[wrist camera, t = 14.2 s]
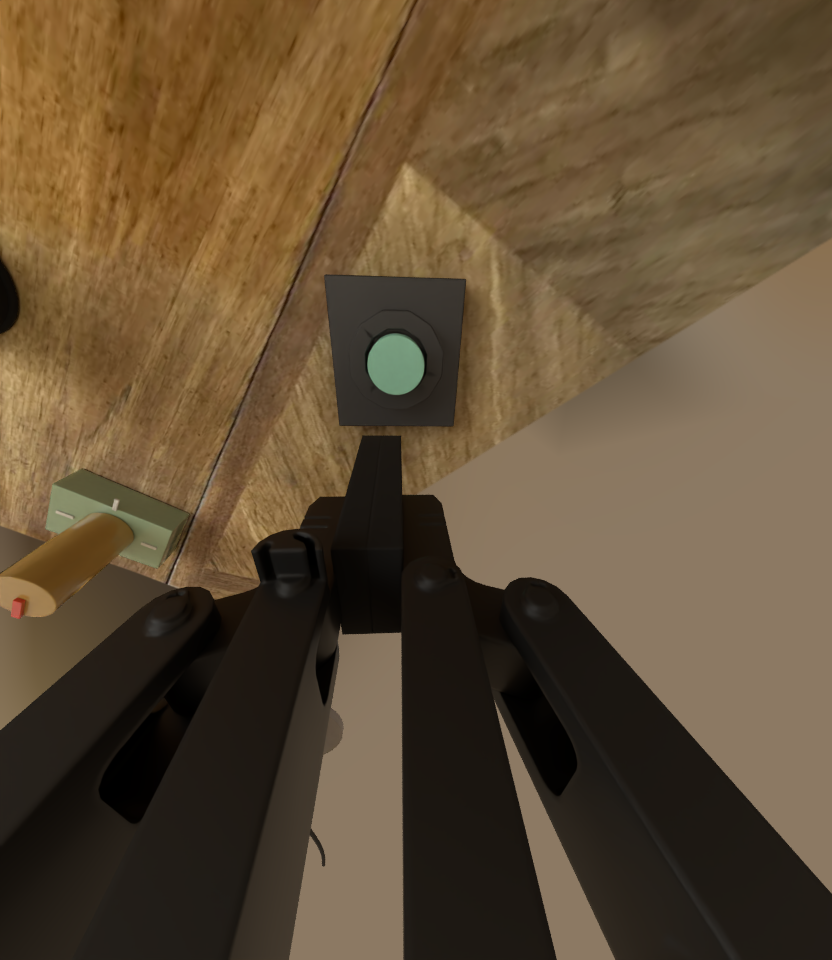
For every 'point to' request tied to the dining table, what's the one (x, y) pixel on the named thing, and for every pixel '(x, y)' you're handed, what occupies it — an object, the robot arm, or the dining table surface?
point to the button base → (385, 310)
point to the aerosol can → (7, 300)
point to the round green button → (395, 364)
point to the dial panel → (118, 514)
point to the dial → (63, 565)
